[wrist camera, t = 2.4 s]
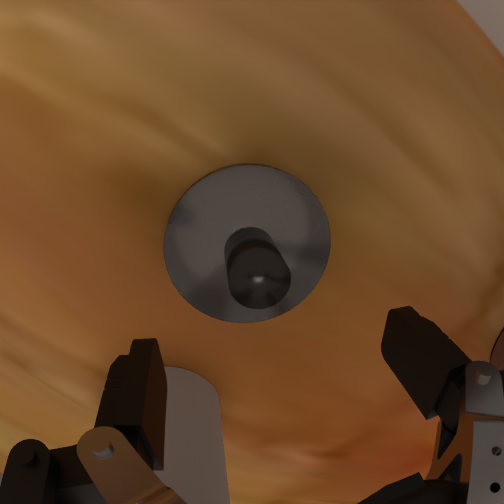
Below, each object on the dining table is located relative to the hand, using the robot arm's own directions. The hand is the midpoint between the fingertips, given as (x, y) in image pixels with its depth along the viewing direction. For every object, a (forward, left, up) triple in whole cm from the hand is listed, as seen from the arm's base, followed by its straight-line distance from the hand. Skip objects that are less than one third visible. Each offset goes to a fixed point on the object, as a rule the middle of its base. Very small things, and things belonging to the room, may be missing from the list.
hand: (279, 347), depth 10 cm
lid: (0, 0, -10) cm, 10 cm away
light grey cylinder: (+7, +13, -10) cm, 18 cm away
